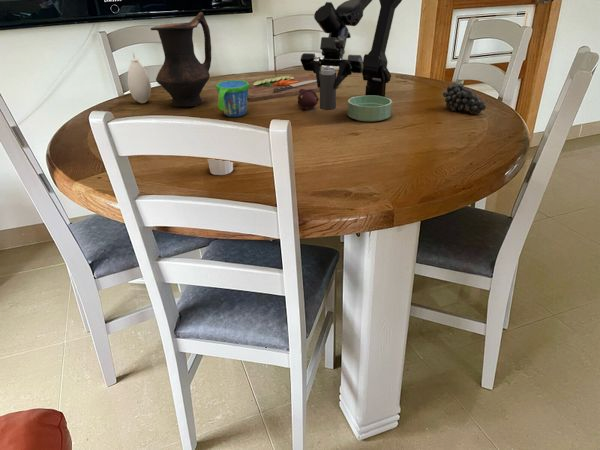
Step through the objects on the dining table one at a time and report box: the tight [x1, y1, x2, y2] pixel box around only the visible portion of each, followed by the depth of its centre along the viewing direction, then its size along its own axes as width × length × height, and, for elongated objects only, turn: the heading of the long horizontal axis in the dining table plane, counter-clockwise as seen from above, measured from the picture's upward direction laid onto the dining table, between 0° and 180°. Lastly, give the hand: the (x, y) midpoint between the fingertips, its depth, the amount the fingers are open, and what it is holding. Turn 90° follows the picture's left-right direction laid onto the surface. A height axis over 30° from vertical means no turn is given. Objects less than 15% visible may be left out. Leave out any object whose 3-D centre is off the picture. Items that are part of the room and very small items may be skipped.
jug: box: [150, 11, 212, 108], centre depth 161 cm, size 21×18×30 cm
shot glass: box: [207, 159, 234, 176], centre depth 112 cm, size 7×7×7 cm
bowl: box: [347, 95, 393, 122], centre depth 149 cm, size 14×14×5 cm
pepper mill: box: [319, 66, 337, 111], centre depth 140 cm, size 5×5×13 cm
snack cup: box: [215, 79, 249, 118], centre depth 153 cm, size 16×10×10 cm
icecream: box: [296, 89, 320, 111], centre depth 157 cm, size 7×7×15 cm
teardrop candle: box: [127, 51, 152, 104], centre depth 167 cm, size 8×8×18 cm
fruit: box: [442, 82, 487, 115], centre depth 150 cm, size 9×8×15 cm
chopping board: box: [245, 72, 339, 102], centre depth 186 cm, size 45×27×3 cm, turn 117°
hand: (326, 87), depth 139 cm, fingers closed on pepper mill, 5 cm apart
